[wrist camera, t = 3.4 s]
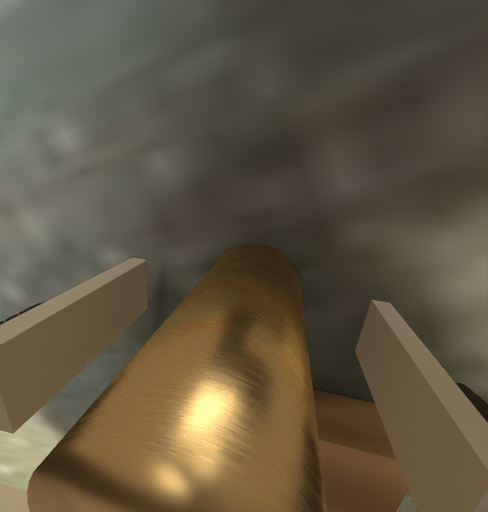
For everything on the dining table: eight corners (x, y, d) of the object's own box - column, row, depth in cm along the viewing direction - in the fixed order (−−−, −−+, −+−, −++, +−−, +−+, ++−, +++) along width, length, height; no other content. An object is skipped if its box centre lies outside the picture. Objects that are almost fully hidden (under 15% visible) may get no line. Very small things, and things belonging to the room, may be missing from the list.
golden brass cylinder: (213, 236, 13) (-3, 405, 3) (309, 251, 12) (385, 517, 3) (207, 317, 14) (52, 584, 5) (292, 334, 14) (299, 680, 4)
